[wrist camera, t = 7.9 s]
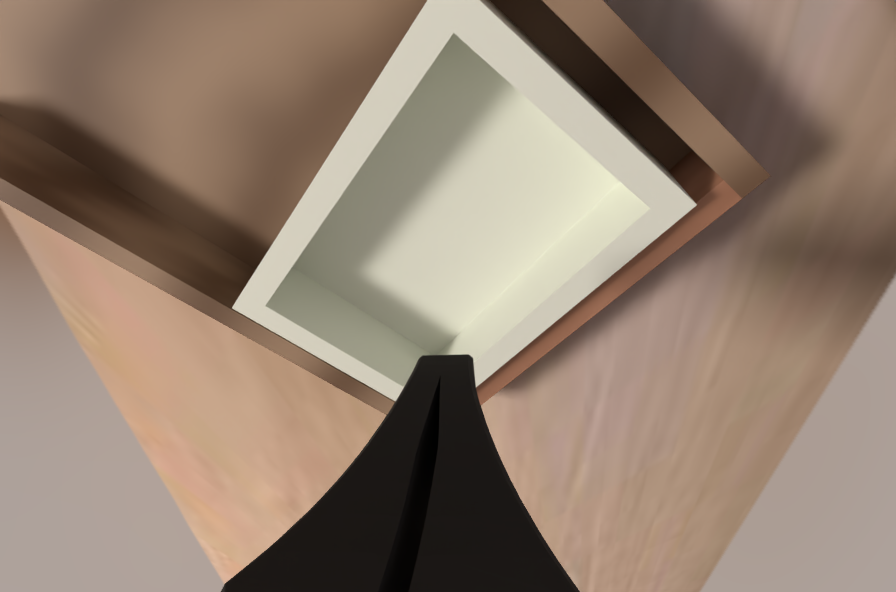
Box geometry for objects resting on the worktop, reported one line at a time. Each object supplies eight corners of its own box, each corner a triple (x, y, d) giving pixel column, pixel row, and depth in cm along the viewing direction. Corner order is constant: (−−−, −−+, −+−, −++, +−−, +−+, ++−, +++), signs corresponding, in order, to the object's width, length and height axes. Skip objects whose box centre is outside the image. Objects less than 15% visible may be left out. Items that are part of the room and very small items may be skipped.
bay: (721, 138, 19) (770, 175, 15) (441, 384, 27) (434, 441, 24) (96, -508, 11) (-65, -699, 8) (-10, 111, 20) (-108, 140, 17)
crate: (663, 165, 18) (697, 204, 15) (439, 368, 25) (433, 423, 22) (455, -32, 15) (446, -31, 12) (266, 261, 22) (231, 307, 19)
